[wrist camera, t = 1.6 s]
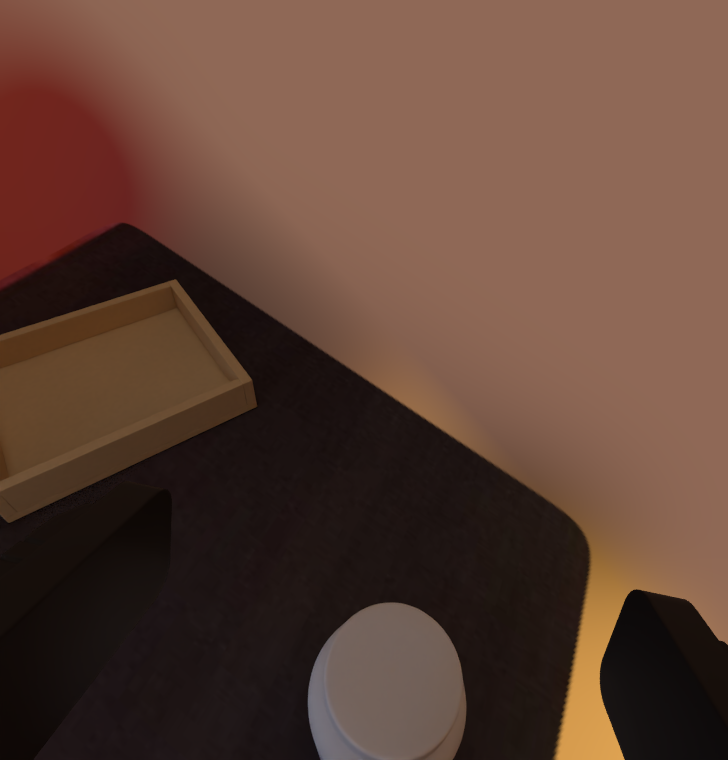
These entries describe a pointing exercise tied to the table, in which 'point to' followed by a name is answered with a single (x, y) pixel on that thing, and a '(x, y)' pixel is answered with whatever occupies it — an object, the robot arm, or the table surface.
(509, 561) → the table surface
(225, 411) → the tray
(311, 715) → the pill bottle
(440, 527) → the table surface
